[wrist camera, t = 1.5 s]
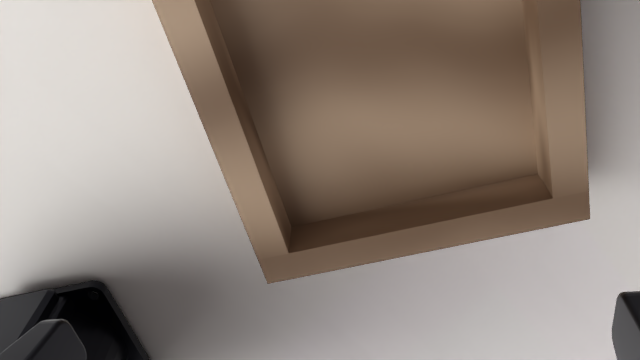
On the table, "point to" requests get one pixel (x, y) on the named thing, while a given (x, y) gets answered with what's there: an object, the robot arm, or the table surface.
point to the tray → (387, 121)
